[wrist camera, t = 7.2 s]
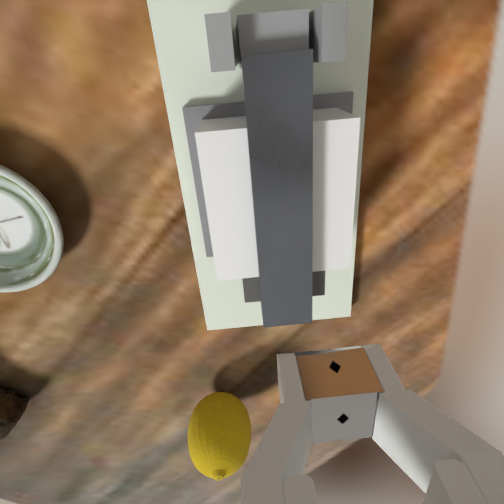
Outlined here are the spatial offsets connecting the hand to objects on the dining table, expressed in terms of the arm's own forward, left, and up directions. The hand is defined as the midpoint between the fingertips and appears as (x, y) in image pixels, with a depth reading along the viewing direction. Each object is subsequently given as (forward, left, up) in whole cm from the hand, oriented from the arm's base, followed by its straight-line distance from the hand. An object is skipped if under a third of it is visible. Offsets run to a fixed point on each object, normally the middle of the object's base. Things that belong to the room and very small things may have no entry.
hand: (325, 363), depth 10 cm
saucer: (0, -19, -17) cm, 25 cm away
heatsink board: (-1, 0, -16) cm, 16 cm away
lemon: (+20, -6, -16) cm, 27 cm away
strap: (-1, 0, -12) cm, 12 cm away
